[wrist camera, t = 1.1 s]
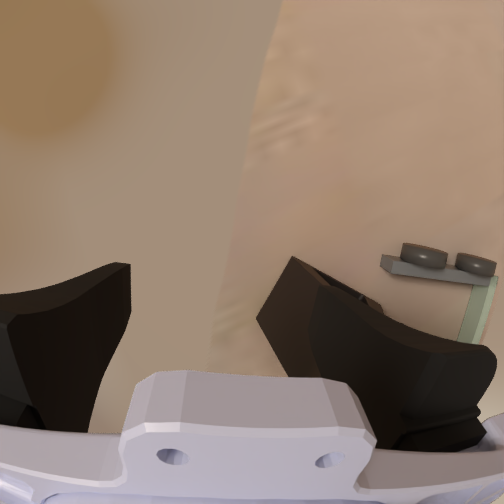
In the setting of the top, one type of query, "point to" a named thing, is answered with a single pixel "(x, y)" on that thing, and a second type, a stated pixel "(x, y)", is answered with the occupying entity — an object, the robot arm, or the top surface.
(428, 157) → the top surface
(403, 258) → the chassis bay
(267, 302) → the phone stand
